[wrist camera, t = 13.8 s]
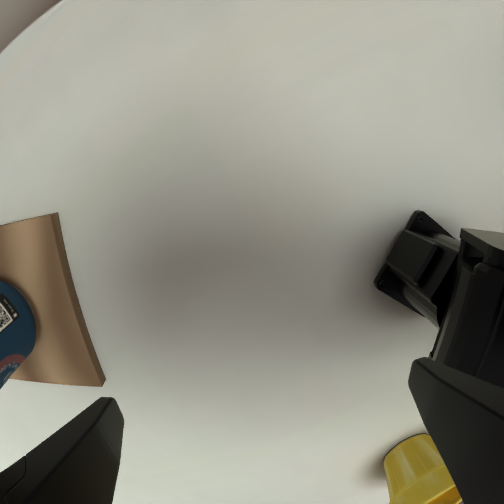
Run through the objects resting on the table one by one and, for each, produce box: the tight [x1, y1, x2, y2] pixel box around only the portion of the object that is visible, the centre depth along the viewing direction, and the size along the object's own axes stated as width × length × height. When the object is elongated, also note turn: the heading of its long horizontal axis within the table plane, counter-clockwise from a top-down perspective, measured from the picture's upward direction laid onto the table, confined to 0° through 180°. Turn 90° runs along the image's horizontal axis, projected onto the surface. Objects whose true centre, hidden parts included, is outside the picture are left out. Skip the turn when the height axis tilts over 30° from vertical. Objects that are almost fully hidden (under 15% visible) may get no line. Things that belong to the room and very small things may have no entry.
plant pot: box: [383, 434, 462, 504], centre depth 24 cm, size 10×10×10 cm
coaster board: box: [0, 213, 106, 387], centre depth 20 cm, size 14×14×1 cm
